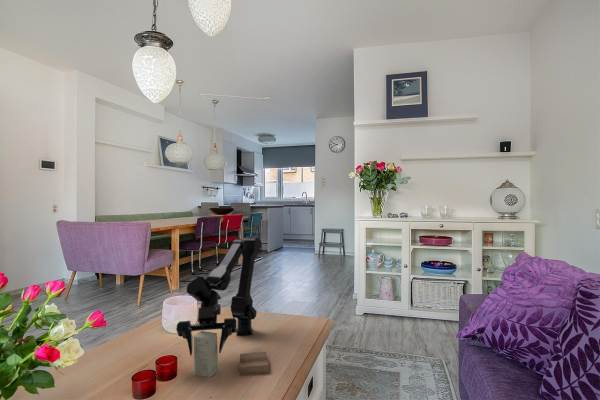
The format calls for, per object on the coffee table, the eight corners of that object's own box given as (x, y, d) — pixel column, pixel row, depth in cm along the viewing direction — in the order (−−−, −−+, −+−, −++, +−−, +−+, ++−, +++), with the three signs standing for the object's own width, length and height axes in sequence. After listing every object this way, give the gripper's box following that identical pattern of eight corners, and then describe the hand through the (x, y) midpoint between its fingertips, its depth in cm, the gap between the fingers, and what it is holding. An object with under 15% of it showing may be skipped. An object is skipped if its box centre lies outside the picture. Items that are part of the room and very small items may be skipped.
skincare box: (218, 371, 103) (218, 332, 103) (210, 378, 98) (210, 338, 98) (201, 367, 105) (201, 330, 105) (193, 374, 100) (193, 335, 100)
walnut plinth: (239, 361, 109) (239, 354, 109) (266, 359, 110) (266, 351, 110) (239, 375, 100) (239, 367, 100) (268, 372, 101) (268, 364, 101)
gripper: (177, 296, 104) (169, 346, 93) (236, 293, 107) (235, 341, 96) (182, 313, 112) (175, 360, 101) (236, 309, 115) (236, 355, 104)
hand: (205, 353), depth 100 cm, fingers open, 8 cm apart
